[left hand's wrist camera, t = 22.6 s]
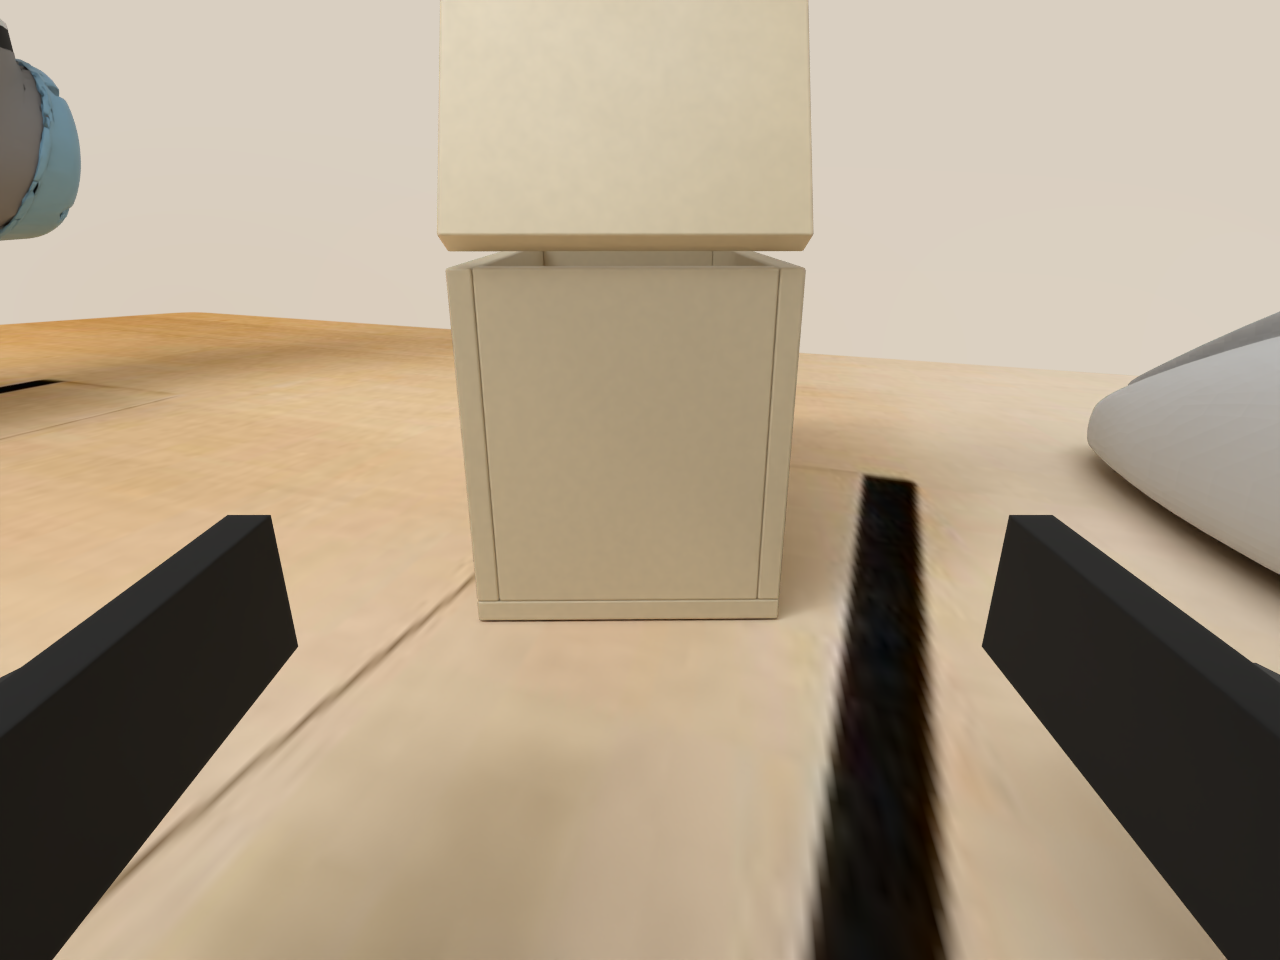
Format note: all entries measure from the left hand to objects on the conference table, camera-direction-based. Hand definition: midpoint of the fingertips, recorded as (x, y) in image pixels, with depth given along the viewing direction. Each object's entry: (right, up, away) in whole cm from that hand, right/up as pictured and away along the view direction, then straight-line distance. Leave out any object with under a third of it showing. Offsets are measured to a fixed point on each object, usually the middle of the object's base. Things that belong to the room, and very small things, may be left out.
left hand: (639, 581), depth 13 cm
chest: (0, 0, +18) cm, 18 cm away
